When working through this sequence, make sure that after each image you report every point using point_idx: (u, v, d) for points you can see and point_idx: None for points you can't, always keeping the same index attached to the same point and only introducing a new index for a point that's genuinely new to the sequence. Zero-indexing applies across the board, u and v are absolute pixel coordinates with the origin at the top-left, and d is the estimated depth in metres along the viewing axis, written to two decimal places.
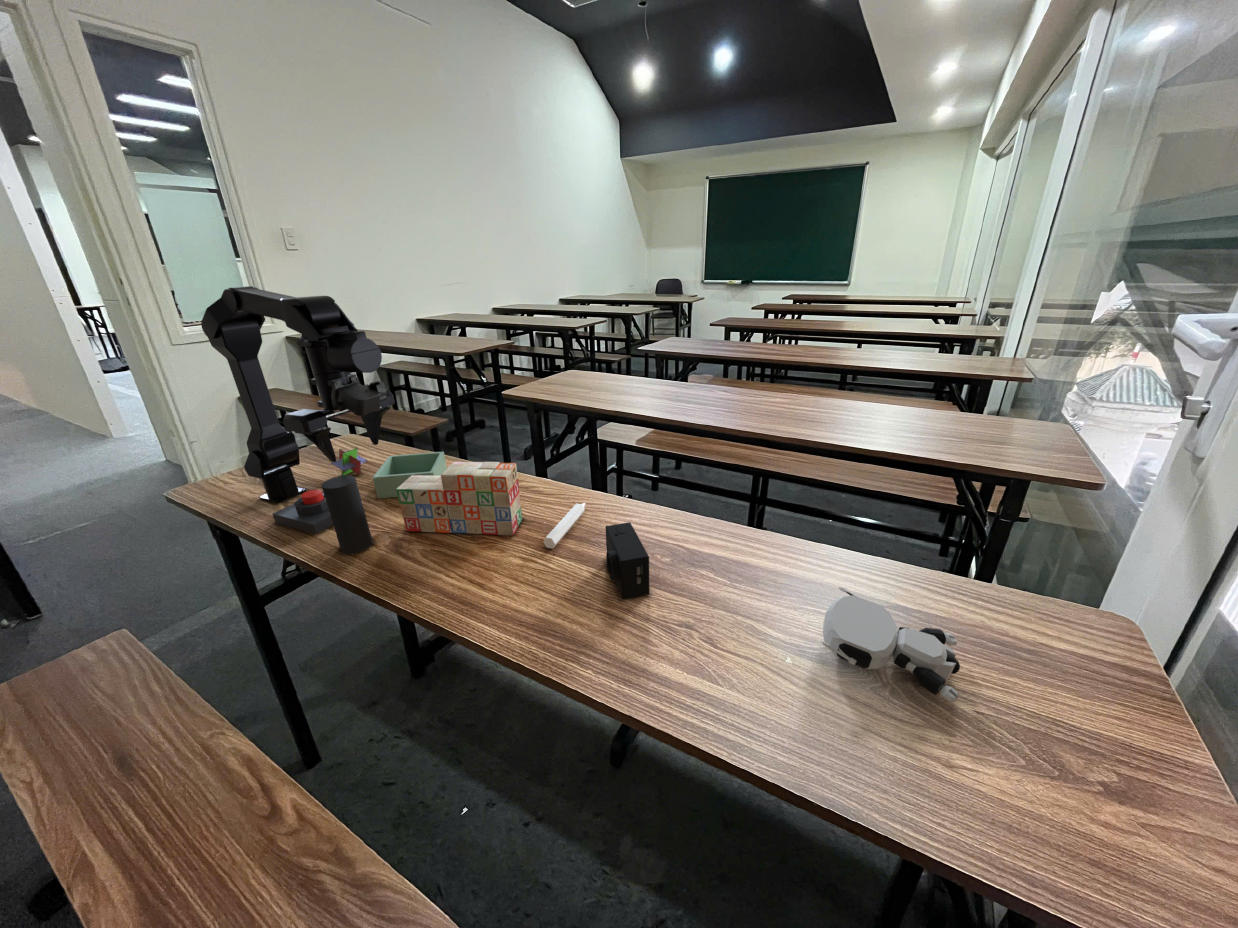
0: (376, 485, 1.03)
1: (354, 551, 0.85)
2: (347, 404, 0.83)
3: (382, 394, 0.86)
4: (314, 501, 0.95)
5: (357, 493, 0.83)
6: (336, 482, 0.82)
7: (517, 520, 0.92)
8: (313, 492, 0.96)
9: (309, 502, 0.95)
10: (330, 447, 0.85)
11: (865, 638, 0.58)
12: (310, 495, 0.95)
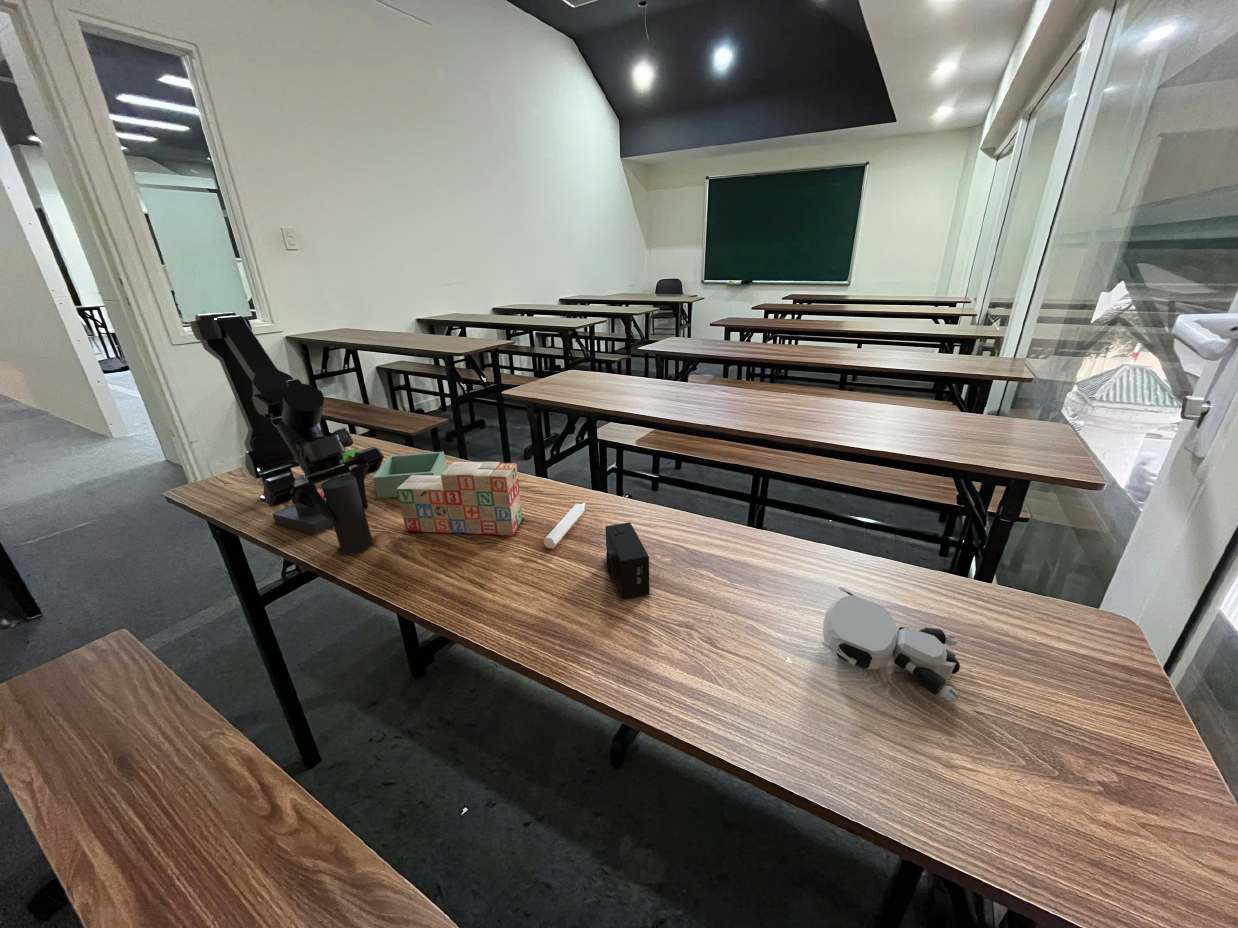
0: (376, 485, 1.03)
1: (354, 551, 0.85)
2: (309, 455, 0.80)
3: (341, 435, 0.81)
4: None
5: (357, 493, 0.83)
6: (336, 482, 0.82)
7: (517, 520, 0.92)
8: None
9: None
10: (323, 504, 0.81)
11: (865, 638, 0.58)
12: None
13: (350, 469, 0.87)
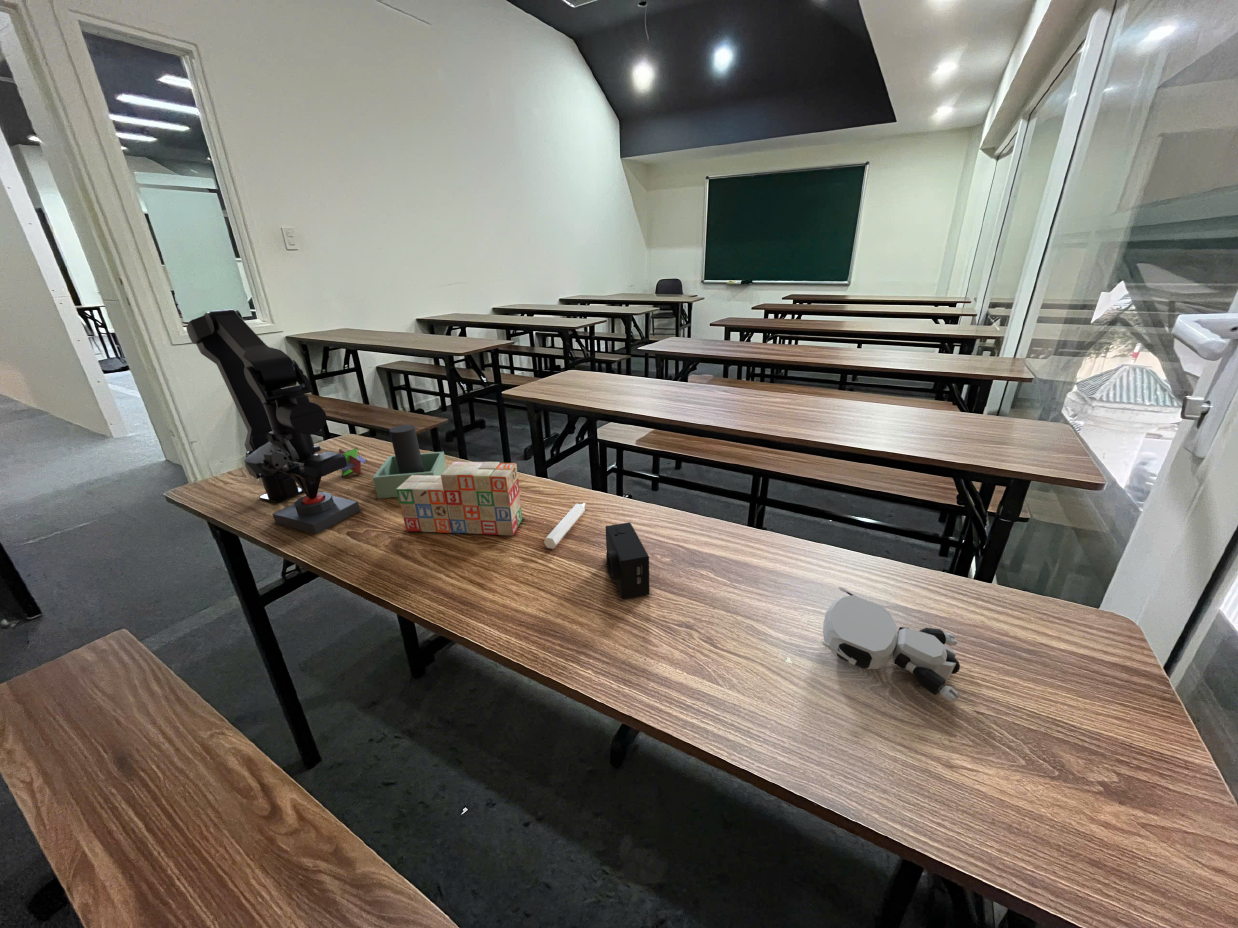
0: (376, 485, 1.03)
1: None
2: None
3: (262, 464, 0.84)
4: None
5: None
6: (401, 429, 1.05)
7: (517, 520, 0.92)
8: None
9: None
10: (300, 486, 0.94)
11: (865, 638, 0.58)
12: (311, 500, 0.95)
13: (300, 465, 0.92)
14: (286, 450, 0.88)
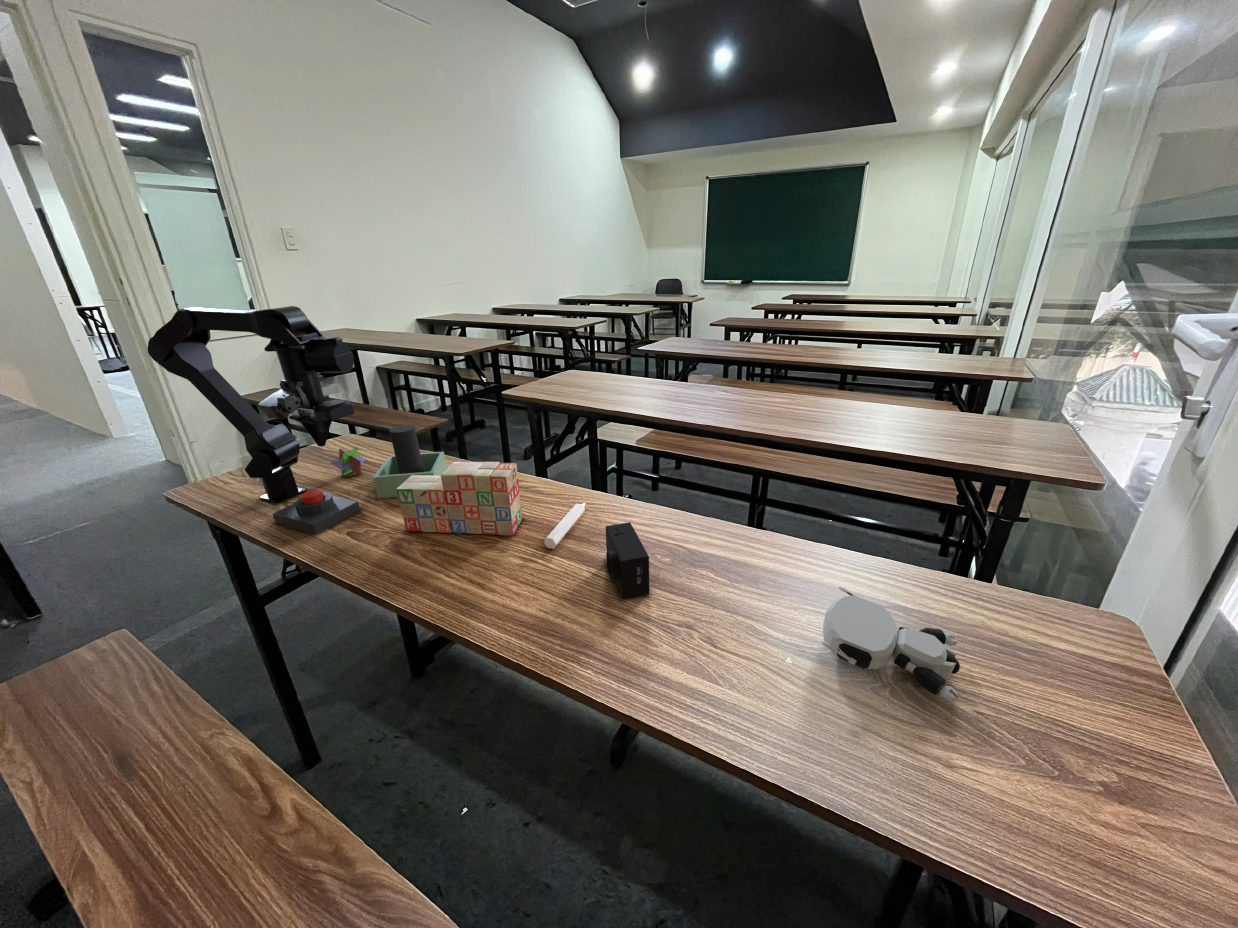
0: (376, 485, 1.03)
1: None
2: None
3: (275, 407, 0.90)
4: (314, 501, 0.95)
5: None
6: (401, 429, 1.05)
7: (517, 520, 0.92)
8: (313, 492, 0.96)
9: (309, 502, 0.95)
10: (310, 433, 1.00)
11: (865, 638, 0.58)
12: (310, 495, 0.95)
13: None
14: (297, 396, 0.93)
